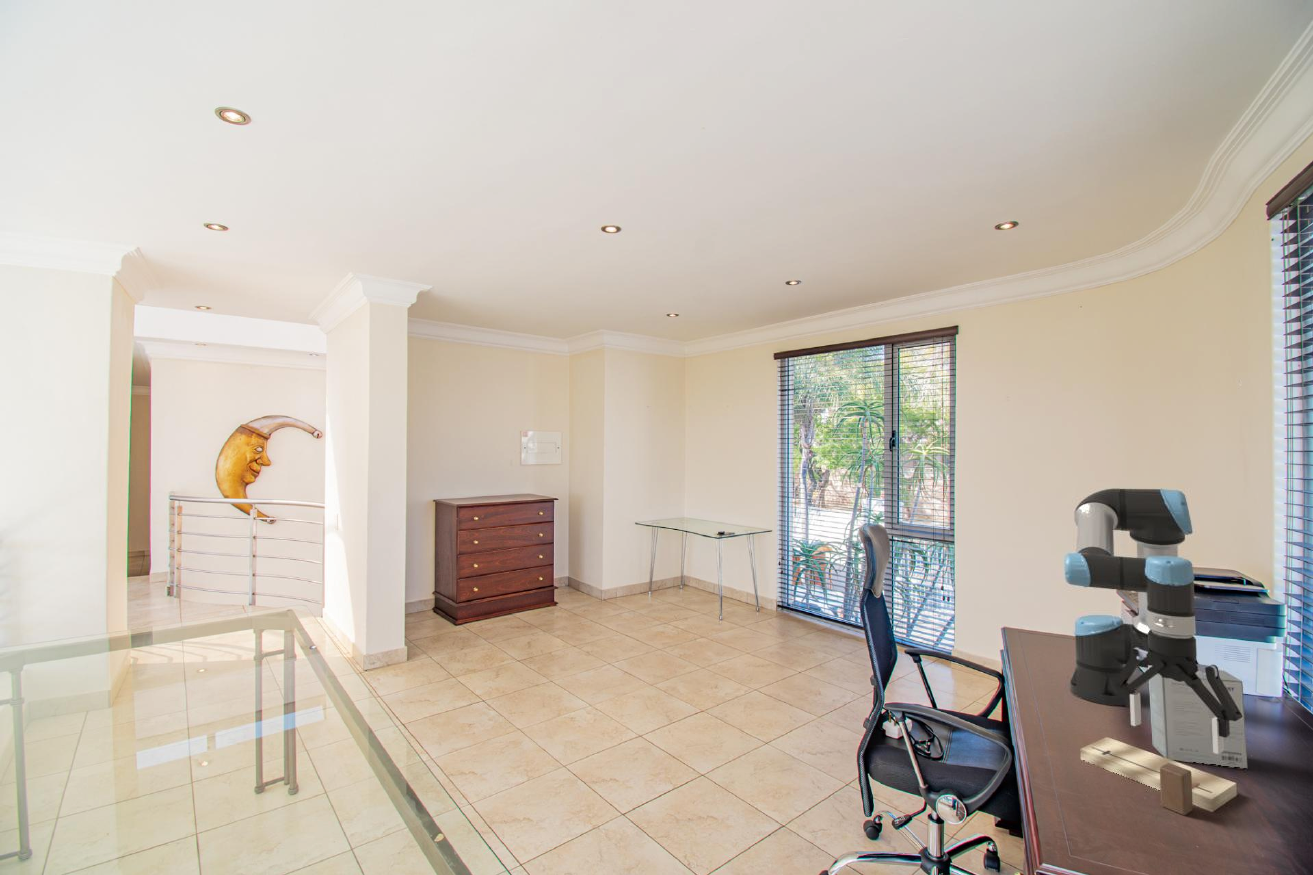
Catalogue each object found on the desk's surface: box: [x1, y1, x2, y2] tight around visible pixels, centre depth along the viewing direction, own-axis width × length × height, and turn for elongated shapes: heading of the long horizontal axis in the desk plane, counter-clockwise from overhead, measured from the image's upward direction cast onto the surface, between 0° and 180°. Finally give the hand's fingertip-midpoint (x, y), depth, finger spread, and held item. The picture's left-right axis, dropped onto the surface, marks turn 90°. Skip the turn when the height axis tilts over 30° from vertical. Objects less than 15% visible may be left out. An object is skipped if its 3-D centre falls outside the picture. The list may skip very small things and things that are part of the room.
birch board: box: [1079, 736, 1238, 813], centre depth 133 cm, size 24×12×3 cm, turn 28°
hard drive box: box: [1147, 665, 1248, 769], centre depth 142 cm, size 16×8×20 cm, turn 71°
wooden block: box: [1160, 763, 1194, 816], centre depth 121 cm, size 4×4×8 cm
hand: (1175, 737), depth 122 cm, fingers open, 13 cm apart
